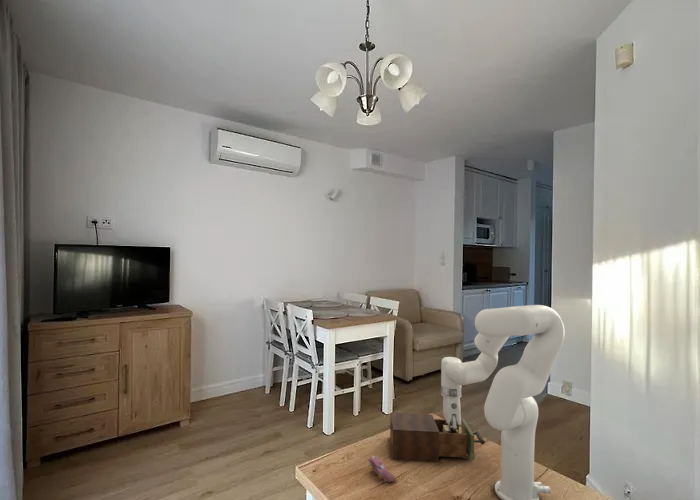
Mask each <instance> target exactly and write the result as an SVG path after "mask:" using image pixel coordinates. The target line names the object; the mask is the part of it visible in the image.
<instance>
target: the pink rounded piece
mask: <svg viewBox="0 0 700 500" xmlns="http://www.w3.org/2000/svg"><path fill="white" fill-rule="evenodd" d="M367 461H368V464H367V465H368V466H369V467H370V468H372V469H373V472H374V473H375V474H376V475H378V478H379V479H380V480H385V481H386V482H389V483H393V482H395V480H396V477H395V475H394V474H393V473H392V472H391V471H389V469H387V467H386V466H385V464H384V463H383V460H382V459H380V458H379V457H377V456H375V455H373V456H369V458H367Z"/></svg>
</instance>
